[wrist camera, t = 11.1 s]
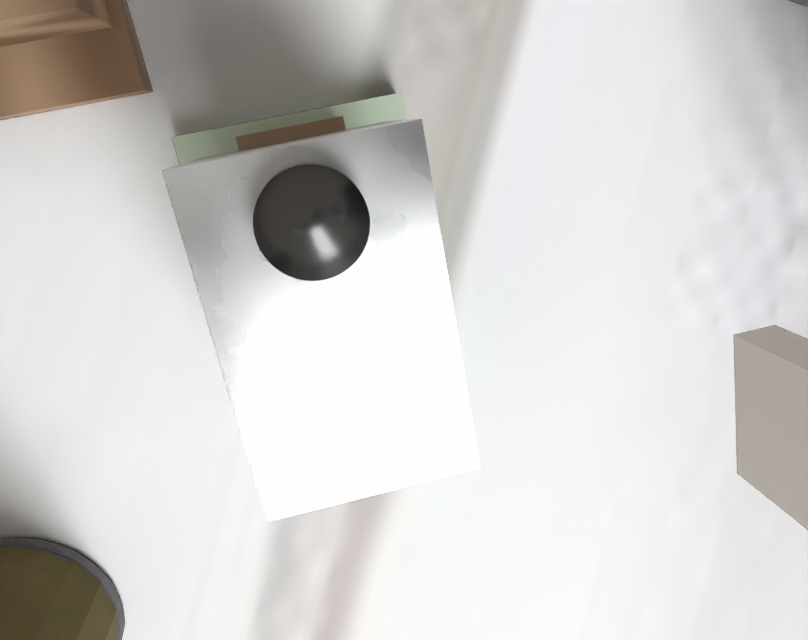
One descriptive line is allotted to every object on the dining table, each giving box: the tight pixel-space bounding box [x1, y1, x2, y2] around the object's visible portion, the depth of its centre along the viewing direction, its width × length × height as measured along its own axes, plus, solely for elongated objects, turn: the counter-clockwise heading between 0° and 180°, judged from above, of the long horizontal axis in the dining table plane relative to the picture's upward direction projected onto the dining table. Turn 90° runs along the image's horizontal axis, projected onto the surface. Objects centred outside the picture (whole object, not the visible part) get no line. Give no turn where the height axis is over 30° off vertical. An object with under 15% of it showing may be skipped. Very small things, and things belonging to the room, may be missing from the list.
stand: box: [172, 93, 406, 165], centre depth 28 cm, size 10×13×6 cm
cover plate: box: [162, 119, 480, 522], centre depth 20 cm, size 11×7×5 cm, turn 11°
